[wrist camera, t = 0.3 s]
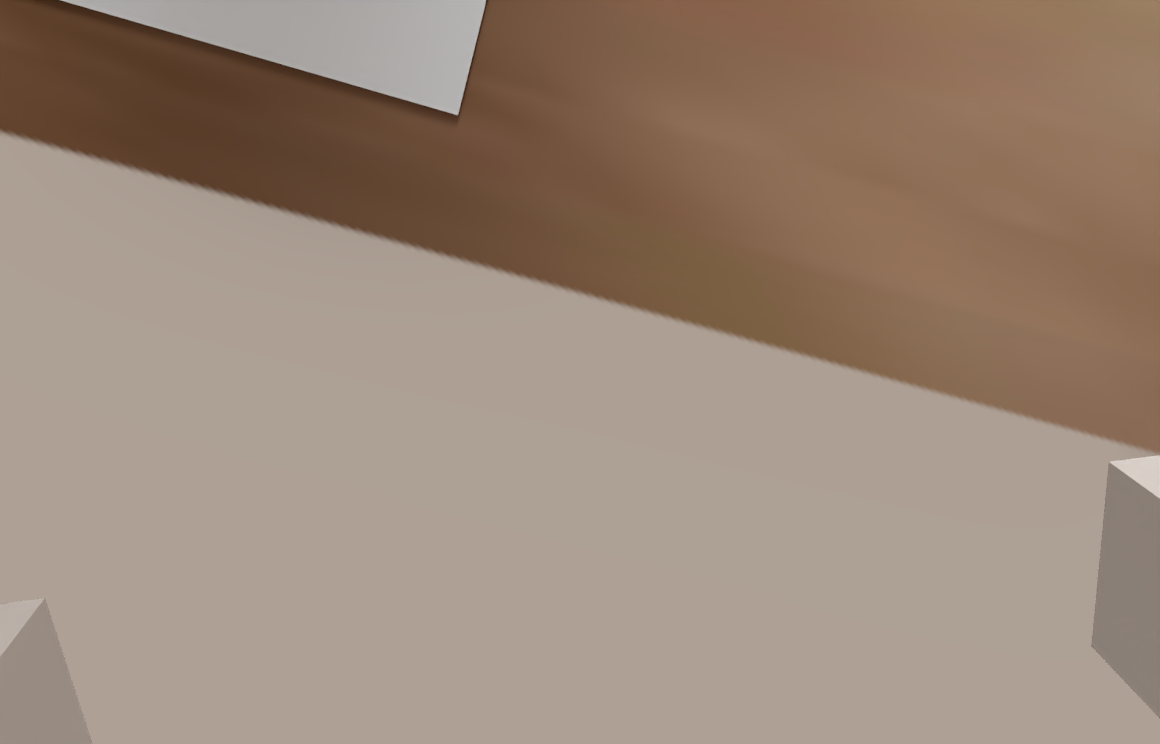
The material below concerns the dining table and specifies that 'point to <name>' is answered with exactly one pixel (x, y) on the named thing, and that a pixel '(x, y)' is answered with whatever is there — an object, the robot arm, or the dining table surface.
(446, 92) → the paper
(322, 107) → the dining table surface
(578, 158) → the dining table surface
